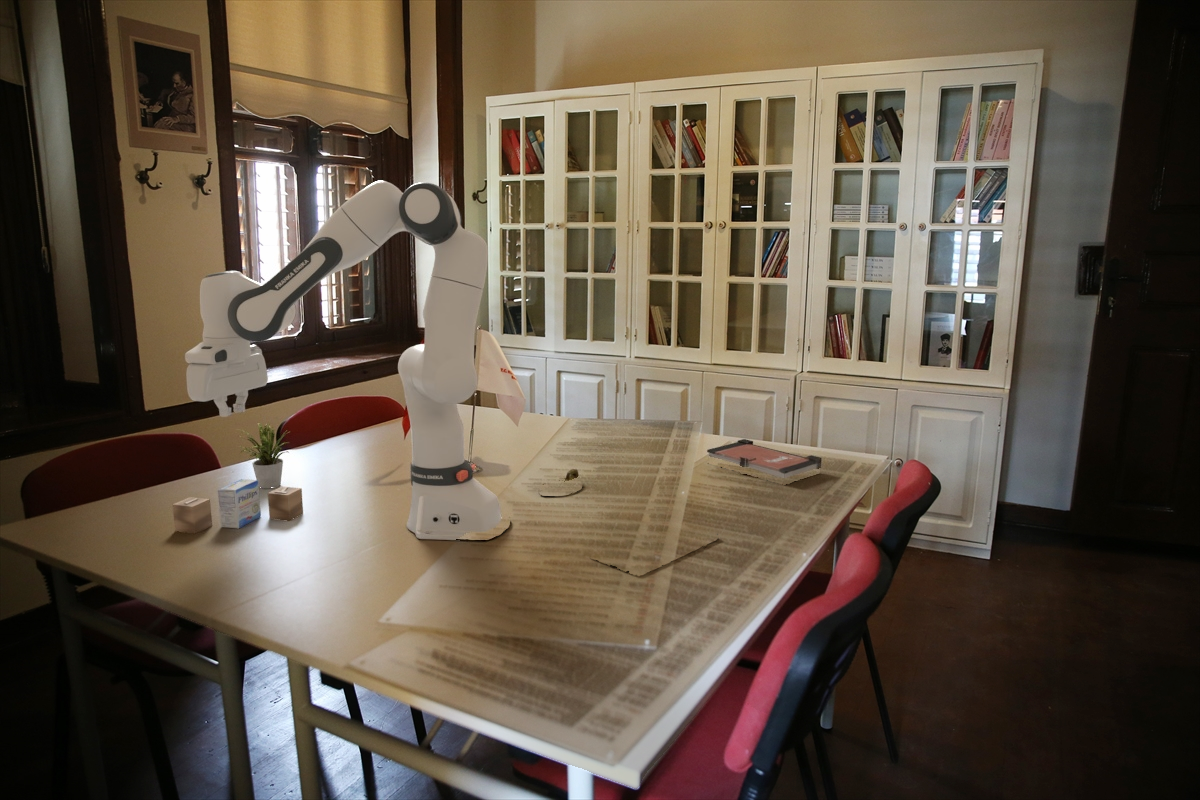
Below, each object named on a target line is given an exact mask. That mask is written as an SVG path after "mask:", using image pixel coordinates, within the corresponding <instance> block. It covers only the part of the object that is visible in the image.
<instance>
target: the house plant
mask: <svg viewBox="0 0 1200 800" xmlns="http://www.w3.org/2000/svg"><path fill="white" fill-rule="evenodd" d="M257 425H258V426H257V427H258V429H259V431H258V432H259V434H258V435H259V439H260V443H258V441H257V440H256V439H254V437H253V436H252V435H251V434H250V433H249V432H247V431H245V430H243V429H240V431H242V432H243V433H244V434H246V435H247V438H246V436H242V435H240V436H239V435H238V437H239V438H242V437H245V438H246V440H248V441H249V442H250V443H251V444H252V445H253V446H250V447H248V448H247V447H246V446H243V445H241V446H239V447H240V448H241V447H242V448H244V449H243V450H241V451H240V453H239V454H241V453H244V452H246V451H247V452H248V453H251V454H250V455H249V460H250V459H251V458H253V457H256V458H255V459H256V460H254V461H253V462H252V468H253V471H254V474H255V480H257V481H258V486H259V487H261V488H260V489H262V488H271V487H276V486H278V487H280V486H281V485H280V484H282V475H283V474H282V473H283V466H284V465H283V464H284V459H282V458H280V456H281V455H282V454H285V453H289V454H290V452H289V451H288V450H287V451H282V449H283V448H282V447H281V446H282V445H284V444H289V443H290V442H289V441H288V442H287V441H286V442H285V441H284V442H283V443H280V442H281V440H282V439H283V438H284V437H285V436H286V431H285V432H283V434H282V435H281V436H280V438H279V439H278V440H277V441H276V442H274V441H275V436H276V435H275V428H274V427H273V426H272V427H271V423H269V424H268V423H265V425H264V427H263V426H262V424H261V423H259V422H258V421H257ZM234 430H236V431H239V429H237V428H236V429H234ZM288 433H290V431H288V432H287V434H288ZM254 449H256V450H257V451H258V452H257V451H256V450H254ZM280 451H282V452H280ZM279 485H280V486H279ZM276 488H277V487H276ZM271 489H272V488H271Z"/></svg>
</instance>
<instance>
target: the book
mask: <svg viewBox="0 0 1200 800" xmlns="http://www.w3.org/2000/svg"><path fill="white" fill-rule="evenodd" d="M706 453H708V457H709V456H710V457H714V458H718V459H722V460H726V461H729V462H733V463H736V464H739V465H740V466H742V467H750V468H752V469H756V470H759V471H761V472H765V473H767V474H771V475H774V476H777V477H781V478H787V477H790V476H793V475H797V474H800V473H803V472H807V471H810V470H813V469H819V468H821V469H822V457H819V456H815V455H808V456H802V455H799V454H798V455H797V454H793V453H788V452H785V451H781V450H778V449H773V448H769V447H765V446H761V445H758V444H757V445H756V444H754V441H753V440H750V439H746V438H743V439H738V440H737V442H733V443H729V444H725V445H720V446H717V447H714V448H709V449H707V450H706Z"/></svg>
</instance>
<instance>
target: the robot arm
mask: <svg viewBox="0 0 1200 800" xmlns="http://www.w3.org/2000/svg"><path fill="white" fill-rule="evenodd" d="M462 217H463V216H462V213H461V210H460V209H459V208H458V205H457V203H456V201H455V200H454V198H452V196H451V195H450V194H449V193H447V192H446V190H444V188H442V187H441V186H439V185H437V184H434V183H431V182H418V183H417V182H416V183H414V184H412V185H411V186H409V187H407V189H405V190H404V192H402V191H401V190H400V188H399V187H397V186H396V185H394V184H393V183H391V182H388V181H386V180H377V181H374V182H372V183H370V184H369V185H367V186H365V187H364V188H362V189H361V190H359V191H358V192H356V193H355V194H354V195H352V196H351V197H350V198H349V199H347V200H346V201H345V202H343V204H341V205H340V206H339V207H338V208H337V209H336V210H335V211H334V212H333V213H332V214H331V215H330V216H329V217H328V219H327V220H326V221H325V222H323V223H324V224H322V225H321V227H320V229H319V230H318V231H317V232H316V233H315V235H314V236H313V238H312V239H311V240H310V241H309V243H308V244H306V246H305V247H304V249H303V250H302V251H301V252H299V254H297V255H296V256H295V257H294V258H293V259H292V260H291V261H290V262H289V263H287V264H286V265H285V266H284V267H283V268H282V269H281V270H279V271H278V272H277V273H275V275H273V276H272V277H271V278H270V279H269V280H268V281H266V282H265V283H260V282H257V281H256V280H253V279H252V278H250V277H247V276H246V275H244V274H243V273H242V272H241V271H237V270H226V271H221V272H216V273H209V274H207V275H206V276H204V277H203V278H202V279H201V282H200V286H199V310H200V311H199V313H200V317H201V320H202V322H203V329H202V341H201V342H199V343H198V344H197V345H196V346H194V347H193V348H191V349H190V350H188V351H186V353H184V360H185V362H186V363H188V366H187V367H186V373H185V374H186V389H187V395H188V397H189V399H190V400H192V401H193V402H203V403H204V402H209V401H212V400H213V402H214V404H215V405H216V407H217V408H218V411H219V413H218V414H219V416H220V417H221V418H227V417H230V416H232V413H233V412H234V413H235V414H237V413H238V414H241V413H244V412H246V402H247V399H248V396H249V391H250V390H253V389H254V390H255V389H257V388H261V387H265V386H266V385H268V384H267V383H268V382H269V381H268V380H269V378H268V371H267V365H266V359H265V357H264V355H263V351H262V348H260V347H259V346H258V345H257V344H251V342H255V343H259V342H260V343H261V342H265V341H267V340H269V339H271V338H272V337H274V336H275V335H276V334H278V333H281V332H283V331H284V330H286V329H287V328H288V327H290V326H291V325H292V324H293V323H294V321H295V318H296V315H297V308H296V303H297V302H298V301H299V300H300V299H301V298H303V296H304V295H306V294H307V293H308V292H309V291H310V290H312V288H314V287H315V286H316V285H317V284H318V283H320V282H321V281H322V280H324V279H325V278H327V277H329V276H332V275H333V274H335V273H338V272H340V271H344V270H347V269H349V268H351V267H354V266H355V265H357V264H359V263H360V262H362V261H364V260H365V259H367V258H369V257H370V256H371V255H372V254H374V253H375V252H376V251H377V250H378V249H379V248H380V247H382V245H384V244H385V243H386V242H387V241H388V240H389V239H390V238H392V237H393V236H394V235H396V234H398V233H400V232H407V233H408V234H410V235H411V236H413V237H415V238H416V239H417V240H419V241H421V242H422V243H424V244H426V245H429V246H432V248H433V249H434V263H433V267H432V271H431V276H430V280H429V284H428V289H427V292H426V297H425V301H424V305H423V309H422V316H423V322H424V343H420V344H415V345H413V346H410V347H408V348H407V349H406V350H404V351H403V352H402V354H401V355H400V357H399V359H398V363H397V371H398V375H399V377H400V379H401V383H402V388H403V393H404V399H405V400H404V401H405V405H406V408H407V413H408V419H409V423H410V432H411V433H410V434H411V435H410V436H411V456H412V457H411V461H410V484H411V485H410V486H411V487H412V490H411V504H410V507H409V508H410V509H409V515H408V517H407V518H408V519H407V522H406V528H407V529H408V530H409V531H410V532H412V533H414V534H415V536H416V538H417V539H420V540H439V541H441V540H443V541H444V540H447V541H457V540H456V539H458V538H460V537H462V536H464V534H466V533H470V532H471V533H472V532H487V531H489V530H491V529H493V528H494V527H496V526H497V525H498V524H499V523H500V521H501V519H502V517H501V514H502V510H501V506H500V501H499V498H498V496H497V495H496V494H495V493H493V492H492V491H491V490H489V489H488V488H487V487H486V486H484V485H483V484H482V483H480V481H478V480H477V479H476V478H475V477H474V475H473V474H474V472H473V471H475V469H476V463H473V464H472V465H470V464H469V463H468V462H467V460H466V459H465V426H464V423H463V420H462V419H461V415H460V412H459V409H458V404H461V403H464V402H465V401H466V402H467V400H468V399H470V398H471V397H472V396H473V394H474V393H475V391H476V389H477V387H478V386H477V385H478V379H479V378H478V371H477V370H476V365H475V334H476V333H475V332H476V325H477V324H476V323H477V319H478V313H479V309H480V305H481V301H482V297H483V292H484V287H485V283H486V278H487V270H488V269H487V268H488V260H489V259H488V258H489V247H488V244H487V242H486V241H485V239H484V238H483V237H482V236H481V235H479V234H477V233H476V232H474V231H471V230H468V229H465V228H463V218H462ZM231 395H235V396H236V399H235V400H236V401H235V403H233V404H232V407H233V412H232V407H229V406H228V404H227V401H228V396H231Z"/></svg>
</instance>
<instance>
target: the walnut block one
mask: <svg viewBox="0 0 1200 800" xmlns="http://www.w3.org/2000/svg"><path fill="white" fill-rule="evenodd" d="M172 514H173V523H174V531H175V532H177V531H179V532H178V533H185V532H187V534H193V533H194V534H195V533H196V534H198V533H200V532H202V531H204V530H206V529H209V528H210V527H212V526H213V520H212V519H213V518H212V517H213V516H212V507H211V499H210V498H202V497H193V496H189V497H187V498H184V499H182V500H180V501H177V502H175V503H172ZM196 534H195V535H196Z"/></svg>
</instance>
